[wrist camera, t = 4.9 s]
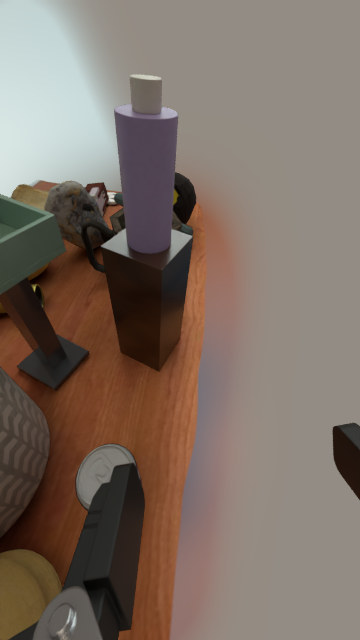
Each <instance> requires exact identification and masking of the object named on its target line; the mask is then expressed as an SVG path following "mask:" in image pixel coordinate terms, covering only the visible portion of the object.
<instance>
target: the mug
mask: <svg viewBox="0 0 360 640" xmlns="http://www.w3.org/2000/svg"><path fill="white" fill-rule="evenodd" d="M110 220H111V224H112V228H113V230H110V229H108V228H107V227H106V226H105V225H104V224H102V223H101V222H99V221H97V220H94V219H91V220H88V221H85V222H83V223H82V230H81V237H82V240H83V242H84V245H85V248H86V252H87V256H88V259H89V261H90V264H91V265H92V266H93V267H94V269H95V270H97V271H100V272H102V273H105V267H104V266H103V265H101V264H99V263H98V262H97V260H96V259H95V256H94V252H93V248H92V244H91V241H90V239H89V236H88V234H87V228H88V227H93V228H96V229H98V230H99V231H100V232H101V233H102V234H103V235H105V236H106V237H108V238H113V237H114V236H115V235H117V234H118V233H119V232H121V231H122V230H124V229H125V228H126V226H125V216H124V208H122V209H121V210H119V211H118V212H116V213H115V214H114V215H112V216H111V217H110ZM181 228H182V223H181V221H180V220H179V218H178V217H177V216H176V214H175V213H174V211H173V215H172V229H173V230H176V231H179V232H181Z"/></svg>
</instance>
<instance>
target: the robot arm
mask: <svg viewBox="0 0 360 640" xmlns="http://www.w3.org/2000/svg"><path fill="white" fill-rule="evenodd" d="M333 455H334V461H335V464H336V466H337V469H338V471H339V472H340V474H341V475H342V477H343V478H344V479H345V481H346V482H347V484H348V485H349V486H350V487H351V489H352V490H353V492H354V493H355V494H356V496H357V497H358V498H359V500H360V426H359V425H357V424H356V423H350V424H344V425H339V426H334V427H333ZM144 509H145V499H144V491H143V488H142V485H141V481H140V478H139V475H138V472H137V469H136V466H135V464H134V463H127V464H122V465H117V466H115V467H114V468H113V472H112V475H111V479H110V482H107V483H102V484H101V486H100V487H99V489H98V490H97V492H96V493H95V495H94V496H93V498H92V501H91V504H90V507H89V510H88V515H87V516H86V519H85V522H84V525H83V526H84V528H83V529H82V531H81V535H80V538H79V541H78V544H77V547H76V550H75V553H74V556H73V559H72V562H71V565H70V568H69V571H68V574H67V577H66V580H65V583H64V586H63V588H62V590H61V592H60V593H59V594H58V595H57V596H56V597H55V598H54V599H53V600H52V601H51V602H50V603H49V604H48V606H47V607H46V609H45V610H44V611H43V613H42V615H41V617H40V619H39V620H38V621H37V622H36V623H34V624H33V625H31V626H30V627H28V628H26V629H25V630H23V631H21V632H20V633H18V634H16V635H15V636H13V637H11V638H10V639H8V640H118V637H119V631H125V630H131V624H132V615H133V606H134V598H135V589H136V580H137V571H138V562H139V553H140V545H141V536H142V527H143V518H144Z"/></svg>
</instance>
